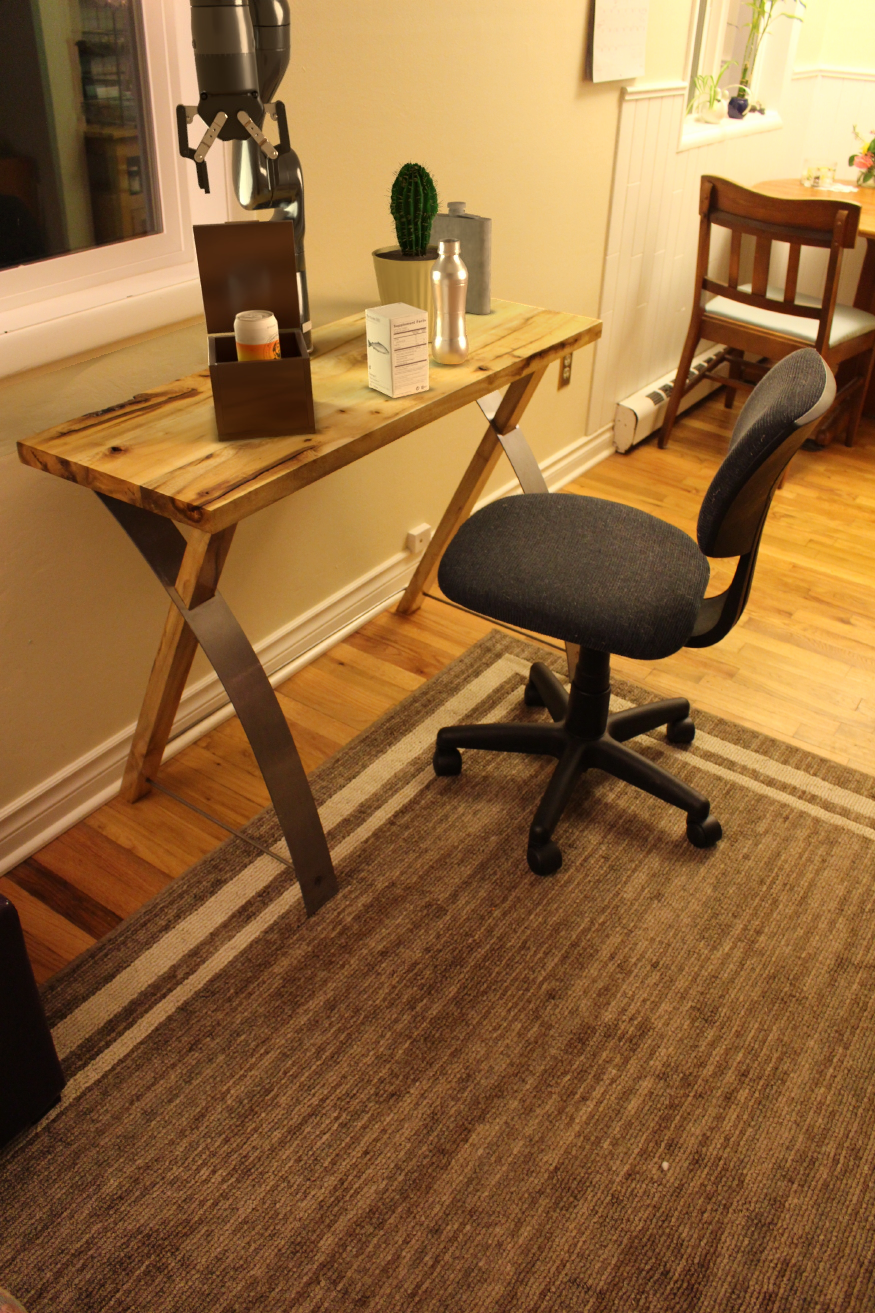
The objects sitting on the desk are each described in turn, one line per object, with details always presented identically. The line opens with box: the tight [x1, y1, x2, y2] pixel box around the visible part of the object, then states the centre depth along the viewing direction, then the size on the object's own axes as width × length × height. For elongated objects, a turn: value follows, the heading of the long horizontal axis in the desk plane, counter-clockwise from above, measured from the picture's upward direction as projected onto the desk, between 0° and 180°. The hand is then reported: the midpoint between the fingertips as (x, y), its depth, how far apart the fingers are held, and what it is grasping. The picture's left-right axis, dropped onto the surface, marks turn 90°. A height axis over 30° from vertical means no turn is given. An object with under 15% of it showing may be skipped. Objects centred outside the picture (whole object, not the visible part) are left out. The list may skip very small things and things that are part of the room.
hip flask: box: [429, 201, 492, 316], centre depth 203 cm, size 16×4×20 cm, turn 58°
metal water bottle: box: [430, 238, 470, 365], centre depth 172 cm, size 6×7×20 cm
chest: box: [207, 330, 317, 442], centre depth 152 cm, size 15×14×11 cm
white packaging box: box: [364, 303, 430, 399], centre depth 163 cm, size 7×7×13 cm
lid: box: [191, 219, 301, 335], centre depth 151 cm, size 16×14×6 cm
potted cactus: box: [371, 159, 444, 343], centre depth 184 cm, size 15×15×30 cm
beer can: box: [234, 310, 281, 361], centre depth 149 cm, size 6×6×15 cm
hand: (239, 191), depth 136 cm, fingers open, 8 cm apart
